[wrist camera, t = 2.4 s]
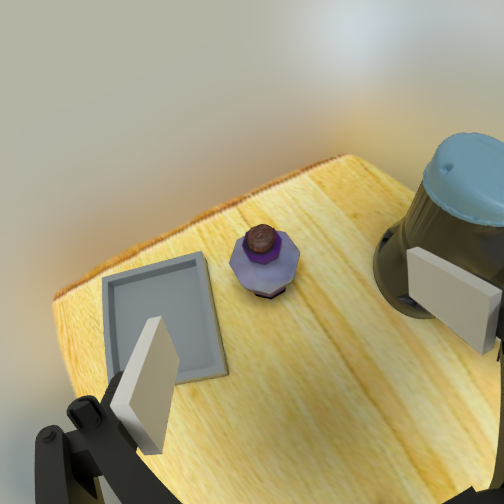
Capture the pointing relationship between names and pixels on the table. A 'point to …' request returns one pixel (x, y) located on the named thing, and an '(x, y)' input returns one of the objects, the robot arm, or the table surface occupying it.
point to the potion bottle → (265, 261)
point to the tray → (165, 315)
